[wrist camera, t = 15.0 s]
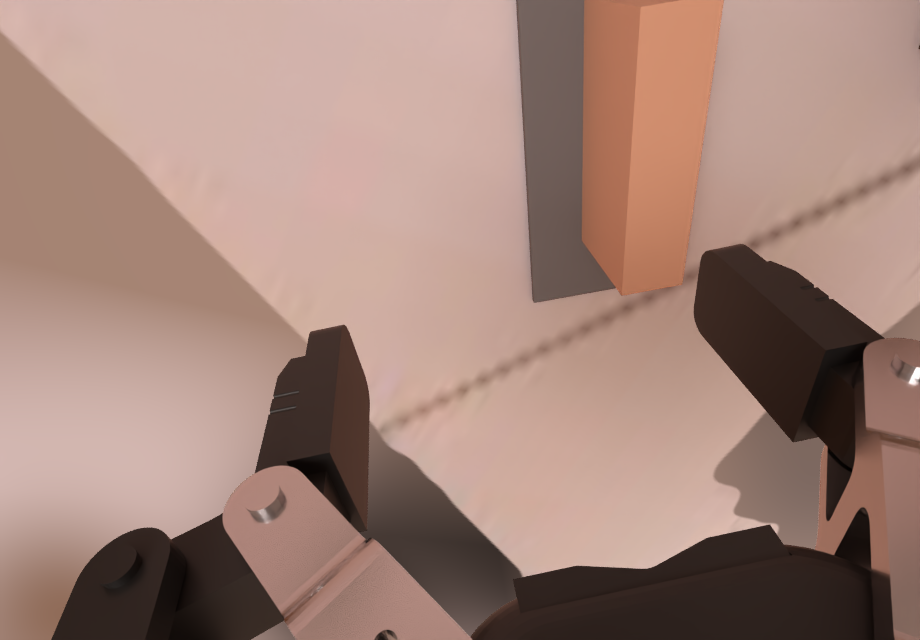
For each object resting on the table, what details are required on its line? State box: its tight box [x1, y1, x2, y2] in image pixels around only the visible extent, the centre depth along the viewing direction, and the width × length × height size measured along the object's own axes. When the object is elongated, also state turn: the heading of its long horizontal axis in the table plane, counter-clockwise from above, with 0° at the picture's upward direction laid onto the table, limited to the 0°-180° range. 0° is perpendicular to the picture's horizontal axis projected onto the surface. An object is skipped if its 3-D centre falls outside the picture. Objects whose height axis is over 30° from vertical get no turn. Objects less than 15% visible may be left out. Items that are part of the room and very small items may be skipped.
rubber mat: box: [516, 0, 616, 303], centre depth 35 cm, size 26×12×1 cm, turn 7°
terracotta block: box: [582, 0, 724, 295], centre depth 31 cm, size 16×4×8 cm, turn 7°
